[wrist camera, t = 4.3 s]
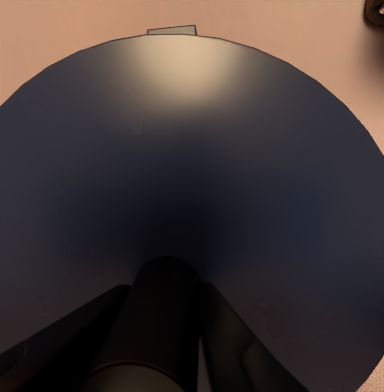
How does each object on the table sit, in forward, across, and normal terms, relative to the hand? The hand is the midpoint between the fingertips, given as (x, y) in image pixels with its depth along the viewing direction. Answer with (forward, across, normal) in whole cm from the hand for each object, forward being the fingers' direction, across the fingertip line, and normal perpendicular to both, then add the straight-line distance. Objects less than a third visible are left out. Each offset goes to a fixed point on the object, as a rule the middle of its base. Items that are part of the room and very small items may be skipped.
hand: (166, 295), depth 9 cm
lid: (+1, 0, 0) cm, 1 cm away
